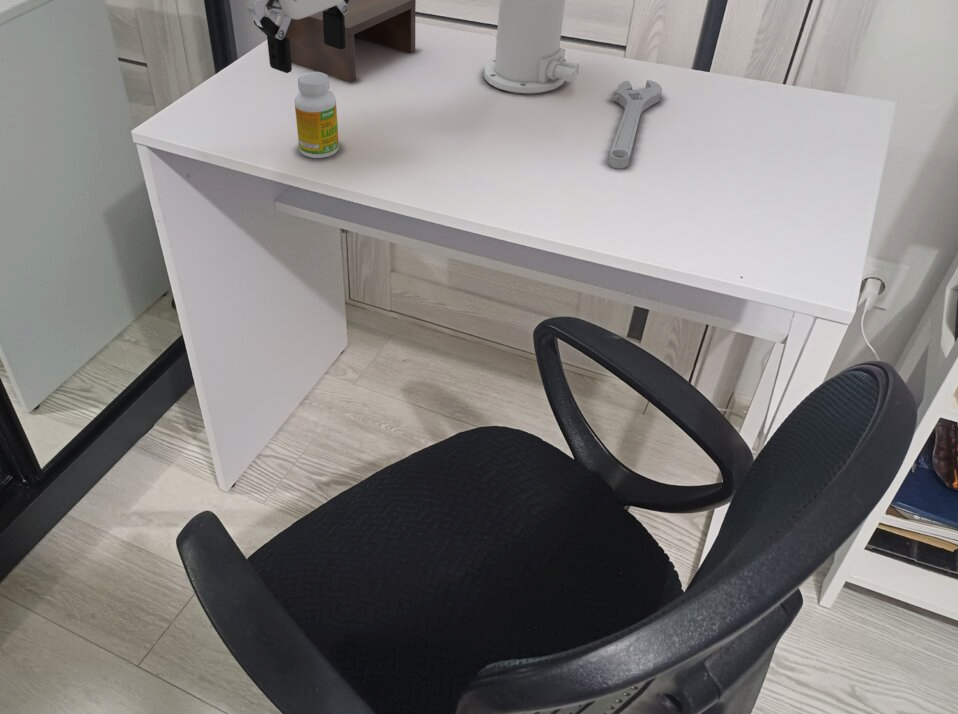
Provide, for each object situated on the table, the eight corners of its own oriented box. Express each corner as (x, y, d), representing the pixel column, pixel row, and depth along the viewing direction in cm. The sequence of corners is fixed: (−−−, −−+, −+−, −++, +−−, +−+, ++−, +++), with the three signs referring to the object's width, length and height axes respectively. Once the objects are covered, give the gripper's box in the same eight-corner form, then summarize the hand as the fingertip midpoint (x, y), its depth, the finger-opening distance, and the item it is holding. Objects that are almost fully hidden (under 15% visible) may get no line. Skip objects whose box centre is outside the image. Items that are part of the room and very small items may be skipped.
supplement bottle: (327, 162, 109) (321, 89, 102) (292, 154, 110) (284, 82, 103) (346, 145, 112) (341, 73, 105) (311, 137, 114) (305, 66, 107)
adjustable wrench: (627, 171, 106) (629, 158, 105) (578, 162, 108) (580, 150, 107) (662, 93, 122) (665, 81, 121) (619, 87, 124) (622, 75, 123)
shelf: (415, 50, 135) (415, -2, 129) (351, 82, 126) (348, 28, 120) (351, 31, 141) (349, -20, 135) (286, 60, 132) (281, 7, 127)
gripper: (264, -81, 84) (280, 87, 96) (374, -111, 93) (376, 45, 105) (214, -93, 87) (236, 71, 99) (325, -121, 96) (333, 31, 109)
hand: (308, 57), depth 102 cm, fingers open, 9 cm apart
